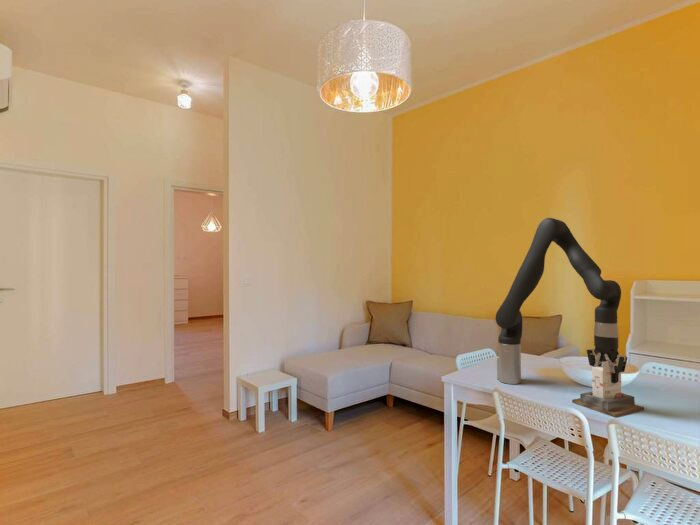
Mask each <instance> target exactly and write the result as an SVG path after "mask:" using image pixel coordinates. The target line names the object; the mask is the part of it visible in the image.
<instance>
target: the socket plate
mask: <svg viewBox="0 0 700 525" xmlns="http://www.w3.org/2000/svg"><path fill="white" fill-rule="evenodd" d="M621 394H622V397H618V398H613V399H608V400H605V399H602V398H598V397H595V396H593V390H592V391H588V392H581V393H580V394H579V398H573V399H572V400H571V402H572V403H573V404H576V405H579V406H582V407H584V408H587V409H590V410H593V411H596V412H599V413H602V414H603V415H607V416H610V417H613V418H617V417H621V416H625V415H631V414H634V413H638V412H642V411H645V407H644V406H641V405H639V404H635V403H636V402H635V396H633V395H630V394H626V393H623V392H621Z"/></svg>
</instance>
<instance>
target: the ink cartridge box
mask: <svg viewBox="0 0 700 525" xmlns="http://www.w3.org/2000/svg"><path fill="white" fill-rule="evenodd" d="M616 360H617V363H618V362H619V361H618V359H616ZM614 363H615V361H614V362H613V363H612V364H614ZM611 373H612V371H611V368H610V367H609V365H608V361H606V362H602V366H601V367H593V366H591V381H592V382H591V384H592V391H593V396H595V397H598V398H602V399H605V400H608V399H613V398H618V397H622V394H621V393H622V372H620V373H619V381H618V382H617V383H612V382H611Z"/></svg>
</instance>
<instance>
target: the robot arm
mask: <svg viewBox="0 0 700 525" xmlns="http://www.w3.org/2000/svg"><path fill="white" fill-rule="evenodd" d="M552 242H553V243H555V244H556V245H557V246H559V248H561V250H562V251H563V252H564V253H565V255H566V257H567V259H568V262H569V263H570V265H571V266H572V268H573V269H574V271H575V272H576V273H577V274H578V275H579V276H580V278H581V279H582V281H583V283H584V285H585V286H586V289H587V291H588V292H589V293H590V295H591V296H592V297H593V298H595V299H597V300H599V301H600V302H599V305H597V306H596V307H595V308H594V325H593V345H594V349H593V348H591V349H586V354H587V358H588V364H589V366H591V367H601V366H602V362H606V361H608V366H609V367H610V368H611V371H612V373H611V382H612V383H617V382H618V381H619V373H620V372H621V373H624V372H625V370H626V366H627V360H628V356H627V355H621V354H619V351H618V350H619V326H618V310H619V306H620V302H621V297H622V289H621V285H620V284H619V283H618V282H616V281H615V280H611V279H610V280H609V279H608V280H607V279H606V280H605V279H603V277H602V276H601V274H602V269H601V268H600V267H599V265H598V264H597V263H596V262H595V261H594V260H593V259H592V258H591V257H590V256H589V254H588V253H587V252H586V251H585V250H584V249H583V247H582V246H581V245H580V243H579V242H578V241H577V239H576V237H575V236H574V234H573V233H572V231H571V229H570V228H569V227H568V224H566V223H565V221H563V220H560V219H556V218H553V217H546V218H544V219H543V220H541V222H540V223H539V224H538V226H537V228H536V230H535V233H534V236H533V238H532V241H531V244H530V247H529V249H528V251H527V253H526V255H525V257H524V259H523V261H522V263H521V265H520V267H519V269H518V270H517V271H518V272H517V273H516V275H515V278H514V279H513V282H512V284H511V286H510V288H509V291H508V293H507V295H506V297H505V299H504V300H503V302H502V303H501V305H500V306H499V308H498V309H497V311H496V313H495V323H496V325H497V326H498V327H500V328H501V330H500V334H499V335H498V340H497V341H498V344H497V345H498V357H497V358H496V369H497V370H496V374H497V375H496V377H497V378H496V379H497V380H498V381H499V382H501V383H503V384H509V385H518V384H521V383H522V366H521V365H522V358H521V357H522V355H521V353H522V352H521V349H522V348H521V342H522V340H521V339H522V337H523V314H522V312H521V307H522V306H523V304H524V302H526V300H527V299H528V298H529V297H530V295H531V294H532V293H533V292H534V290H536V287H537V286H538V285H539V282H540V281H541V278H542V277H543V275H544V272H545V261H546V254H547V251H548V250H549V247H550V246H551V245H552ZM617 360H618V361H619V362H618V363H617ZM614 361H615V363H614V364H612V363H613V362H614Z"/></svg>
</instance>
